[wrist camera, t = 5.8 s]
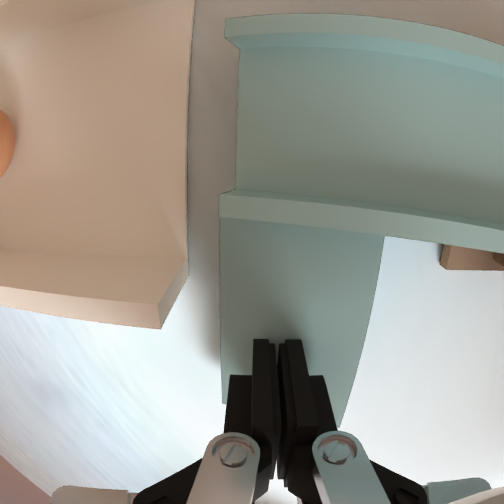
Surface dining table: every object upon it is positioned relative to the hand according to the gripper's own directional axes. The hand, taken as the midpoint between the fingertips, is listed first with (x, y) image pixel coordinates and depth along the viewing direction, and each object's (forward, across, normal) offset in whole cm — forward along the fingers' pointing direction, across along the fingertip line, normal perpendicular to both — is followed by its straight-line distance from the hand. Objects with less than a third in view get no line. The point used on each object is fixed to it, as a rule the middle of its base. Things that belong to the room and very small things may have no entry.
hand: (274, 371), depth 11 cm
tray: (+3, +9, -8) cm, 13 cm away
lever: (-2, -11, -5) cm, 12 cm away
